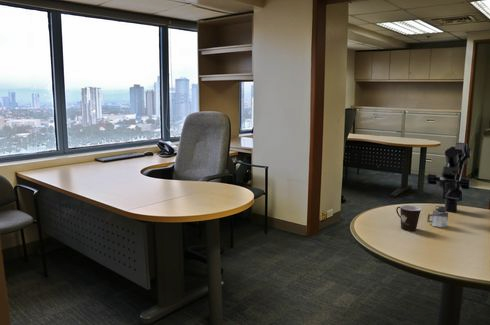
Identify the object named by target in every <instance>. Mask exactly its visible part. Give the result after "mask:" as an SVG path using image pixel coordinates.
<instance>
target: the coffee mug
mask: <svg viewBox="0 0 490 325" xmlns="http://www.w3.org/2000/svg"><path fill="white" fill-rule="evenodd" d="M399 209H400V214H399V212H398V210H399ZM421 210H422V208H420V207H419V206H415V205H410V204H403V205H400V206H397V207H396V210H395V211H396V213H397V215H398V217H399V218H400V230H403V231H406V232H416V231H417V227H418V223H419V219H420V215H421Z"/></svg>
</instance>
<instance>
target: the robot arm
mask: <svg viewBox="0 0 490 325" xmlns="http://www.w3.org/2000/svg"><path fill="white" fill-rule="evenodd" d="M455 144H456V145H455V146H450V147H449V148H447V149H446V150H445V151H444V160H445V166H444V165H443V168H442V170H441V172H442V173H441V177H438V175H437V174H435V173H428V174H427V175H426V181H427V184H428V185H434V186H435V185H436V184H438V183H439V185H438V186H439V187H440V188H442V199H445V203H444V207H446V212H451V213H458V202H461V201H463V197H464V196H463V194H464V193H463V191H462V190H470V188H471V180H470V178H466V177H465V178H464V177H462V174H463V170H464V166H465V165H466V164H467V163H469V161H470V159H471V157H472V149H471V148H470V147H469V146H468V143H466V142H456V143H455Z"/></svg>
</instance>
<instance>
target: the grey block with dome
mask: <svg viewBox="0 0 490 325" xmlns="http://www.w3.org/2000/svg"><path fill="white" fill-rule="evenodd" d="M448 218H449V213H448V211H446V212H442V213H441V214H439V211H436V210H432V213H431V214H430V213H427V220H426V221H427V223H430V225H431V226H432V227H434V228H438V229H447V228H448V221H449V219H448ZM430 219H431V220H430Z"/></svg>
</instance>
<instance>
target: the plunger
mask: <svg viewBox="0 0 490 325" xmlns="http://www.w3.org/2000/svg"><path fill="white" fill-rule="evenodd" d="M435 211H439V214H441V213H442V212H447V211H446V207H445V206H442V205H437V206H435Z"/></svg>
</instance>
